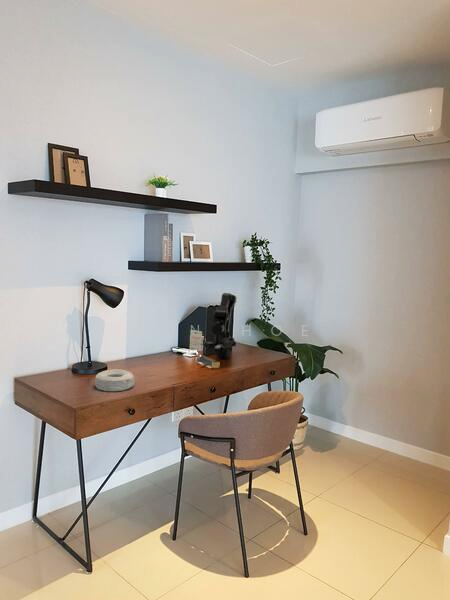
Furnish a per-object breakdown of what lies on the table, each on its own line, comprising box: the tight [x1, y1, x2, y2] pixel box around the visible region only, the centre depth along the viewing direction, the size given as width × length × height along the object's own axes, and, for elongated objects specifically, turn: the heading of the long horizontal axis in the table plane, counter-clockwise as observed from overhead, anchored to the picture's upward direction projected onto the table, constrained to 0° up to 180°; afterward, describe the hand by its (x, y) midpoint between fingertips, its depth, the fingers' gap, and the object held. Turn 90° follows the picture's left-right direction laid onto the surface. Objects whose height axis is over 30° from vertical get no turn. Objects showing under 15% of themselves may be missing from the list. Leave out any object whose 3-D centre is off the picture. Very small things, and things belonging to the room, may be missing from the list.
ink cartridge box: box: [189, 329, 204, 355], centre depth 289 cm, size 9×5×15 cm, turn 62°
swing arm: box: [196, 354, 221, 369], centre depth 265 cm, size 18×4×4 cm, turn 36°
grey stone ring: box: [94, 368, 135, 392], centre depth 218 cm, size 18×18×6 cm
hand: (219, 359), depth 268 cm, fingers closed
